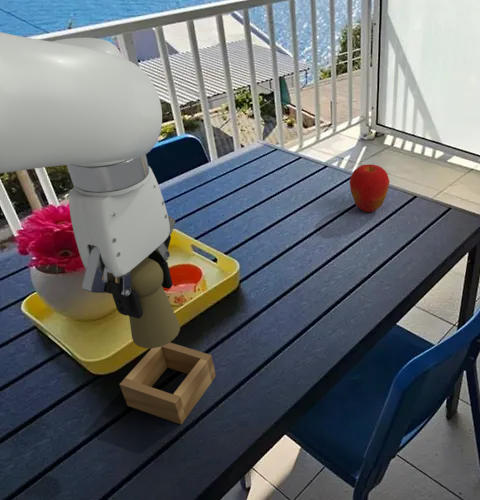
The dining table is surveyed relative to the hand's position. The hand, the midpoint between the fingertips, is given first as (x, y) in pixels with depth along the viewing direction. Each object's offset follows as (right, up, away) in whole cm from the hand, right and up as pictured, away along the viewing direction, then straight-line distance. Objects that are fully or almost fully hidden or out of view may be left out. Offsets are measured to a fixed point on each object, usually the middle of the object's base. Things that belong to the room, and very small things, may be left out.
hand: (146, 298), depth 62 cm
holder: (-2, -16, +15) cm, 21 cm away
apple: (+30, +16, +59) cm, 68 cm away
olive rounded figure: (0, -5, +4) cm, 6 cm away
